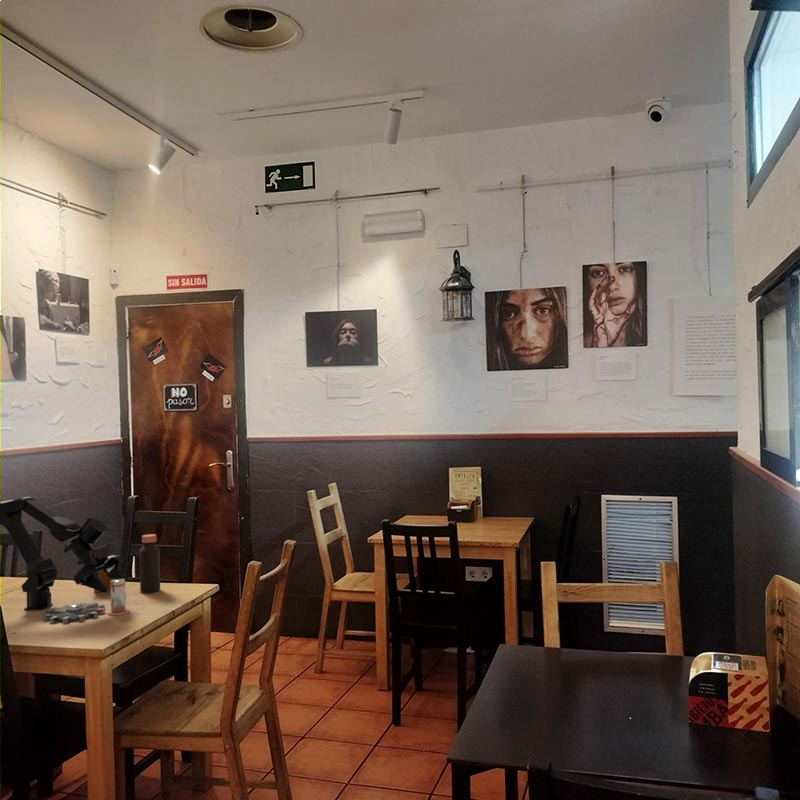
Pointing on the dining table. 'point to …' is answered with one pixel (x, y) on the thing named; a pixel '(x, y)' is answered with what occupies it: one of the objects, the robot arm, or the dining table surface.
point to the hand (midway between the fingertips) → (115, 588)
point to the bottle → (149, 565)
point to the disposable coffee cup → (105, 578)
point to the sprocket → (74, 612)
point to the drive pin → (118, 596)
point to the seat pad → (118, 613)
